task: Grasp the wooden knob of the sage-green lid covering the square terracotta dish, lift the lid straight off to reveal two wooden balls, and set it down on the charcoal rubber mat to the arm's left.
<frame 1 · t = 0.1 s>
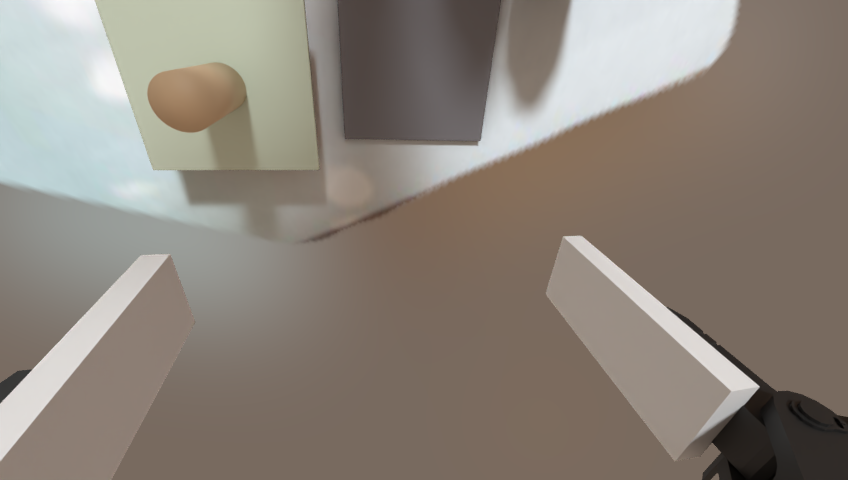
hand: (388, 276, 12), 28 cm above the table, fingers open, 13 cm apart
mat: (418, 62, 34), on the table
lid: (225, 86, 28), point 4 cm above the table, touching dish
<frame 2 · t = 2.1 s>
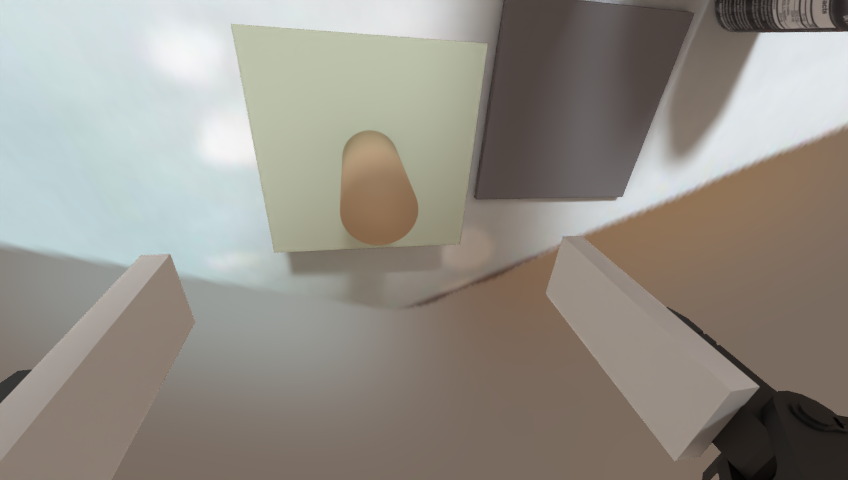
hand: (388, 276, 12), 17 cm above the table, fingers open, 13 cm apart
mat: (572, 112, 28), on the table
lid: (369, 154, 23), point 4 cm above the table, touching dish
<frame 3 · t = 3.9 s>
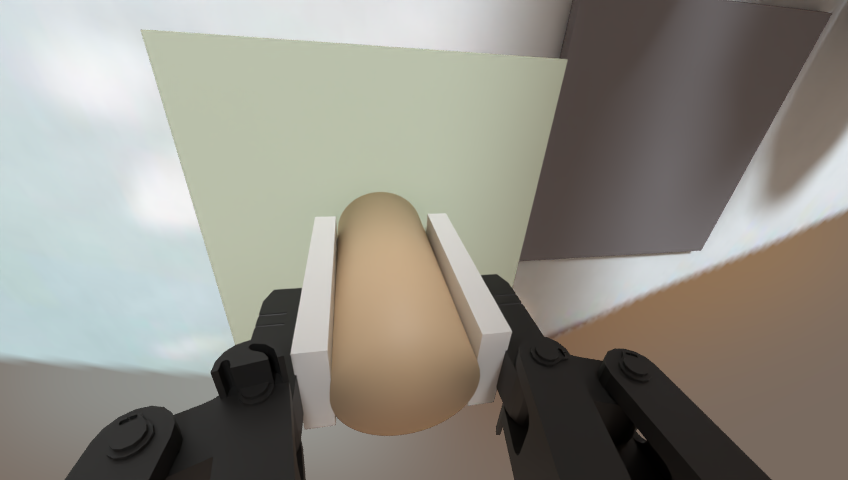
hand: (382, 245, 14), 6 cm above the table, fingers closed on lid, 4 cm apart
mat: (650, 148, 21), on the table
lid: (378, 222, 16), point 4 cm above the table, touching gripper
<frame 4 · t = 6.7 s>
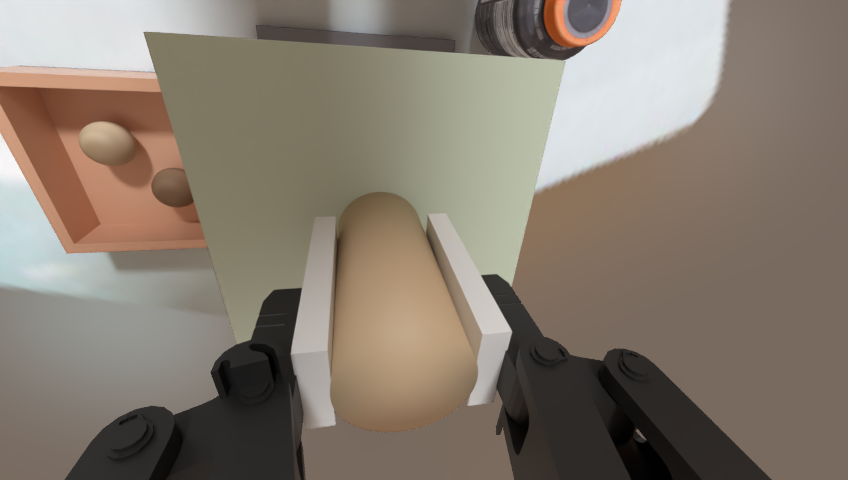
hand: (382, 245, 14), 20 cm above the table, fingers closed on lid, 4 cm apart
ball walnut: (176, 187, 28), point 2 cm above the table, touching dish
mat: (363, 131, 30), on the table
dish: (156, 157, 28), on the table
ball beech: (109, 144, 25), point 2 cm above the table, touching dish
pill bottle: (507, 16, 28), on the table
lid: (378, 221, 16), point 17 cm above the table, touching gripper
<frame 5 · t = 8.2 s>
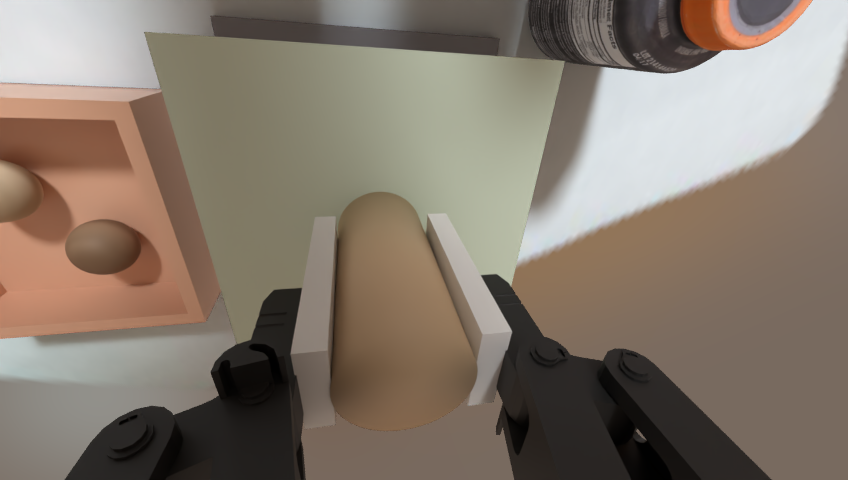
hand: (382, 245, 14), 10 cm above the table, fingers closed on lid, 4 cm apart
ball walnut: (105, 246, 20), point 2 cm above the table, touching dish
mat: (368, 162, 22), on the table
dish: (79, 203, 20), on the table
pill bottle: (571, 4, 20), on the table
lid: (378, 221, 16), point 8 cm above the table, touching gripper
when the fingers open (4 cm above the table, at t = 9.6 s): lid drops 1 cm, resting on mat.
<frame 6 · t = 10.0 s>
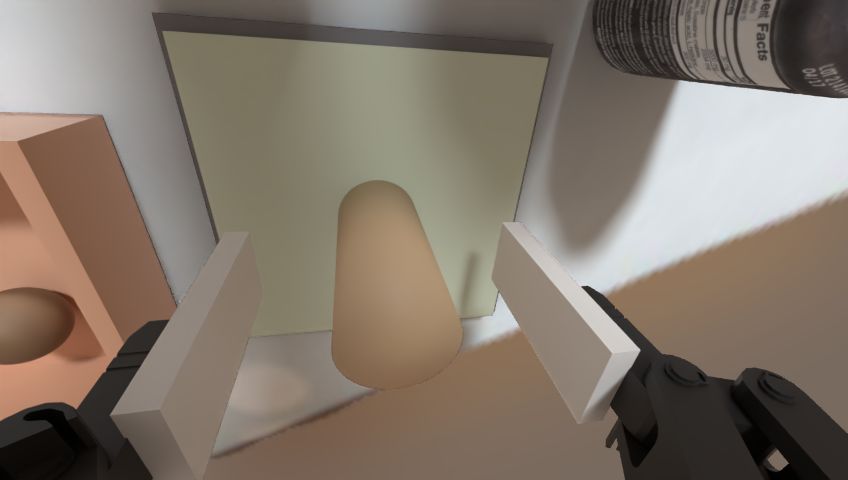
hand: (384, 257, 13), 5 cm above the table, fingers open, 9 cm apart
ball walnut: (21, 324, 15), point 2 cm above the table, touching dish
mat: (375, 203, 17), on the table
lid: (376, 209, 17), point 1 cm above the table, touching mat
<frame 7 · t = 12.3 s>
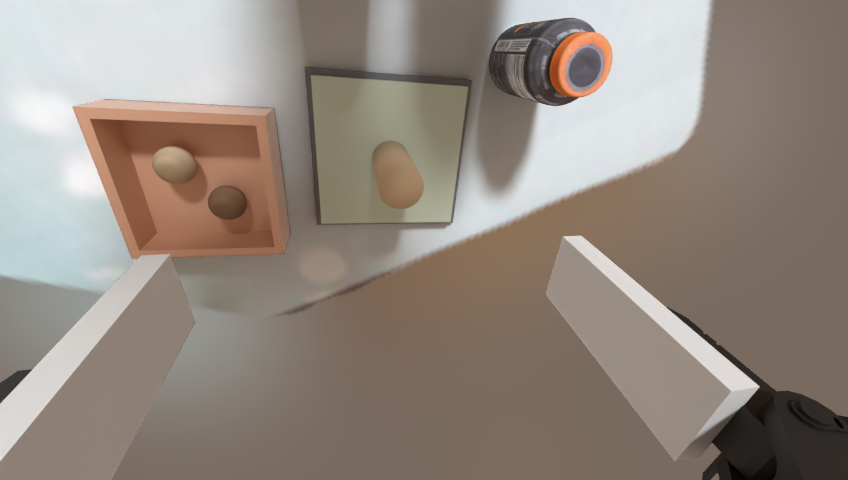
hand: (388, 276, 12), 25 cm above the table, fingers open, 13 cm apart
ball walnut: (228, 202, 32), point 2 cm above the table, touching dish
mat: (389, 155, 35), on the table
dish: (210, 176, 32), on the table
ball beech: (175, 165, 29), point 2 cm above the table, touching dish
pill bottle: (516, 60, 33), on the table
lid: (389, 157, 34), point 1 cm above the table, touching mat
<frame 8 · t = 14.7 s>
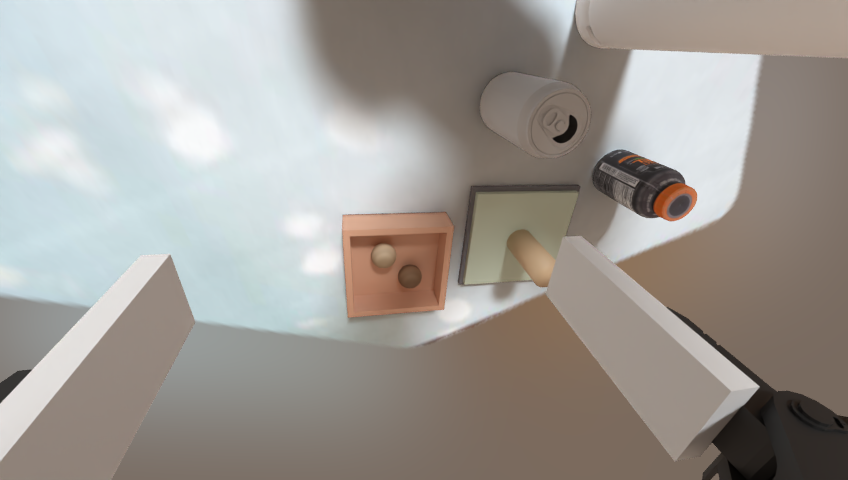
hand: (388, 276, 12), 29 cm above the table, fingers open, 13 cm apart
ball walnut: (409, 276, 45), point 2 cm above the table, touching dish
beverage can: (503, 102, 39), on the table
mat: (514, 235, 48), on the table
dish: (394, 256, 46), on the table
bottle: (610, 3, 35), on the table
ball beech: (383, 255, 43), point 2 cm above the table, touching dish
pill bottle: (610, 170, 46), on the table
lid: (516, 237, 48), point 1 cm above the table, touching mat
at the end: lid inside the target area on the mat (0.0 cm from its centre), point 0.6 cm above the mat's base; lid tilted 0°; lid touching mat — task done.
